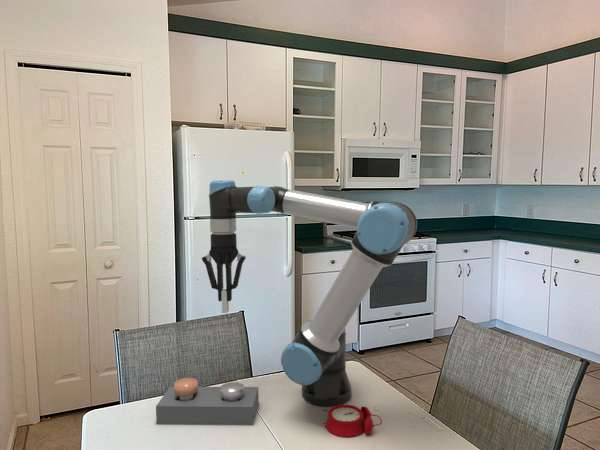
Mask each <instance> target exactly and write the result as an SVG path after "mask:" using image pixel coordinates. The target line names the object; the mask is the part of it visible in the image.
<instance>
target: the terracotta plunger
mask: <svg viewBox="0 0 600 450" xmlns="http://www.w3.org/2000/svg"><path fill="white" fill-rule="evenodd" d="M198 384H199V383H198V379H196V378H193V377H183V378H180V379H177V380H176V381H175V382H174V383H173V387H174V393H175V394H176V395H178V396H180V400H193V394H195V393H196V392H197V391H198V387H199V385H198Z"/></svg>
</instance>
